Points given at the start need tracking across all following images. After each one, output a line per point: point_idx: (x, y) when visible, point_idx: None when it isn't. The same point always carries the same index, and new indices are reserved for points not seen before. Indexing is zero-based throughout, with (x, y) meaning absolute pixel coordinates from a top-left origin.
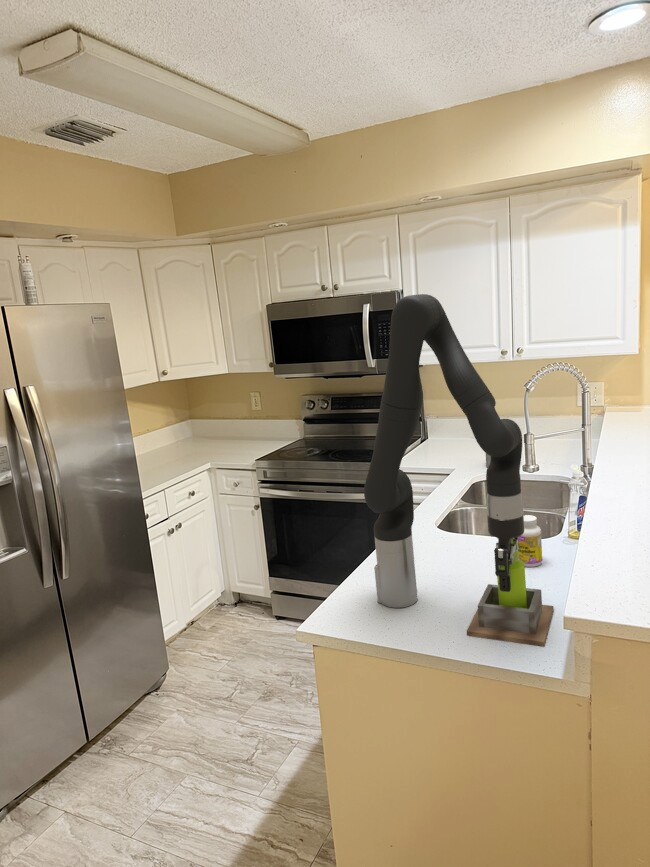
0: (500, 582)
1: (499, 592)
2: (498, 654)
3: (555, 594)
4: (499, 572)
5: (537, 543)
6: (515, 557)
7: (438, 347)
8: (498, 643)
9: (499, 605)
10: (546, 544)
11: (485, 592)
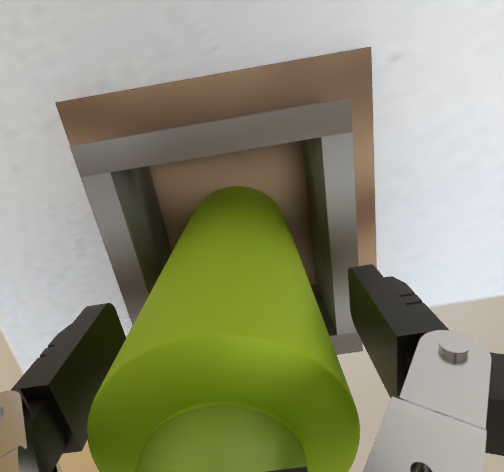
0: (35, 362)
1: (177, 248)
2: (27, 250)
3: (488, 286)
4: None
5: None
6: None
7: None
8: (86, 228)
9: (133, 247)
10: None
11: (237, 127)
